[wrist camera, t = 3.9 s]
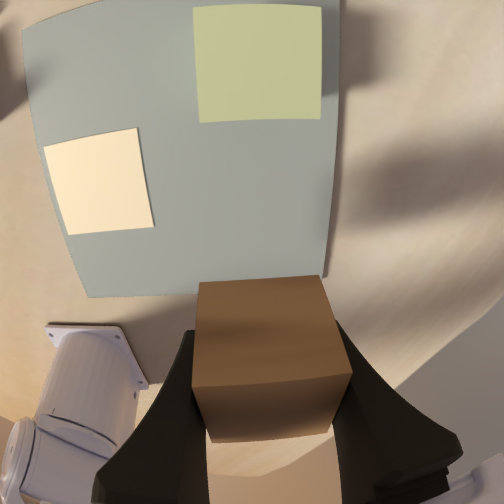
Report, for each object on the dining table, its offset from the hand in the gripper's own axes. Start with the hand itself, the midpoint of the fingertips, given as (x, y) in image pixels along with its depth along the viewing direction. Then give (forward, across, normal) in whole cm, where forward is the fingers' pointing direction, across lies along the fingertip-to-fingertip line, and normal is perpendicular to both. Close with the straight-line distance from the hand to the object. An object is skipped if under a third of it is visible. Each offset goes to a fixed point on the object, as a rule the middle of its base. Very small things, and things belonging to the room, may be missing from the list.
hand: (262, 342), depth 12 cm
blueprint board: (+9, +4, -5) cm, 11 cm away
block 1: (+8, 0, -10) cm, 13 cm away
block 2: (+1, 0, 0) cm, 1 cm away
